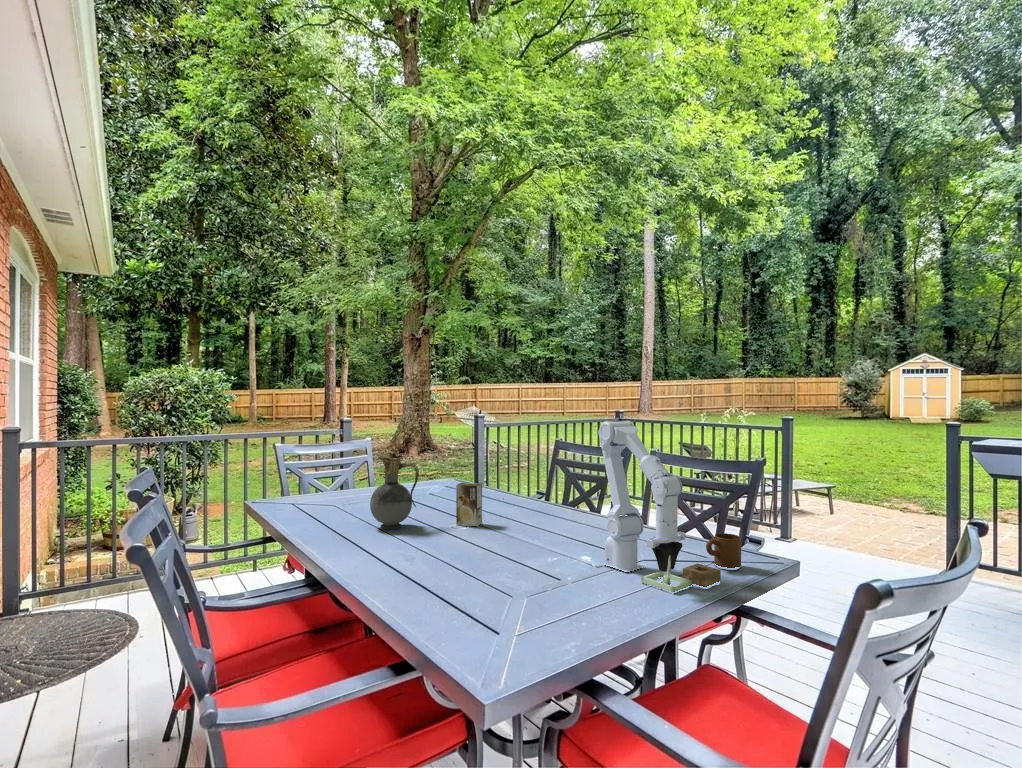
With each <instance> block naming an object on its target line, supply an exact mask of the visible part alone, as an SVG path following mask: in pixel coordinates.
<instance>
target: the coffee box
mask: <svg viewBox="0 0 1022 768" xmlns="http://www.w3.org/2000/svg"><path fill="white" fill-rule="evenodd" d="M455 489H456V490H455V491H456V492H455V493H456V495H455V496H456V497H455V501H456V504H455V505H456V508H455V509H456V510H455V512H456V513H455V514H456V515H455V516H456V520H455V521H456V526H457V525H458V526H459V527H460V526H461V527H471V526H478V527H480V526H481V525H482V524H483V483H479V482H459V483H457V484H456V485H455ZM481 523H482V524H481ZM480 524H481V525H480ZM479 525H480V526H479Z"/></svg>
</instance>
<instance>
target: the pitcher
mask: <svg viewBox="0 0 1022 768" xmlns="http://www.w3.org/2000/svg"><path fill="white" fill-rule="evenodd" d="M398 450H399V449H397V448H396V449H395V448H392V450H389V451H388V455H385V456H382V455H379V456H378V457H376V458H375V460H376V461H378V460H381V462H382V463H383V467H384V471H383V472H384V483H383V484H381V485H379V486H378V487H376V488H375V490H374V491H373V493H372V494H371V496H370V500H369V507H370V512H371V514H372V517H373V518H374V519H375V520H376V521H378V522H379V523H381V524H380V529H381V528H382V530H385V529H393V530H396V529H395V528H398V529H400V528H399V527H401V528H402V524H401V522H403V521H405V520H406V519H407V518H408V517H409V515H410V513H411V512H412V506H413V507H415V508H417V506H416V503H415V502H414V500H413V492H414V489H415V487H416V485H417V483H418V480H419V477H420V469H419V467H418V466H417V464H416V463H415V462H410V461H409V462H404V463H401V460H402V459H403V457H404V455H405V454H404V453H400V451H398ZM399 453H400V454H399ZM406 467H412V468H413V469H414V471H415V478H414V479H415V480H414V483H413V485H412V488H411V489H410V490H409V489H408V488H407V487H406V486H404V485H402V484H400V483H399V472H400V470H401V469H404V468H406Z"/></svg>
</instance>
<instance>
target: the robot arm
mask: <svg viewBox="0 0 1022 768" xmlns="http://www.w3.org/2000/svg"><path fill="white" fill-rule="evenodd" d="M598 437H599V443H600V448H601V451H602V456H603V462H604V466H605V472H606V477H607V482H608V487H609V492H610V497H611V503H612V508H611V509H610V510H609V511H608V512H607V514H606V516H607V532H608V534H609V535H608V537H607V538H606V539H605V543H604V563H603V565H602V566H604V565H606V566H605V567H607V566H610V567H613V568H616V569H619V570H622V571H624V572H623V573H625V572H629V573H631V572H630V571H632V572H635V571H634V570H636V571H638V570H637V569H639V570H641V569H640V568H642V567H644V566H643V565H640V564H639V563H638V556H639V555H638V551H639V549H638V548H639V547H638V546H639V545H638V542H639V541H638V540H639V539H640V538H641V537H640V536H641V535H642V534H643V532H644V524H645V523H644V521H643V519H642V517H641V516H640V511H639V509H638V508H637V507H636V506H634V505H633V504H631V497H630V494H629V488H628V484H627V483H628V482H627V478H626V473H625V469H624V465H623V463H624V462H623V460H622V454H621V453H622V451H623V450H624V449H626V448H627V449H628V450H629V451H630V452H631V454H632V455H634V456H635V458H637V460H638V461H639V469H640V470H641V471H642V473H643V474H644V475H645V477H646V479H647V480H648V481H649V482H650V484H651V485H650V488H651V492H652V495H653V497H654V503H655V534H654V535H652V537H650V538H647V539H646V547H647V548H651V550H652V551H653V555H654V556H655V559H656V562H657V567H658V571H662V572H667V568H668V558H669V554H670V555H671V570H674V569H675V568H676V567H675V566H676V563H677V560H678V556H679V553H680V552H681V550H682V548H683V543H682V542H681V541H685V540H686V532H683V531H680V530H679V531H678V519H679V518H678V517H679V516H678V515H679V514H678V512H679V511H678V508H679V506H678V502H679V501H678V496H680V495H681V494H682V491H683V483H682V481H681V479H680V477H679V476H678V475H675V474H673V473H672V472H669V470H668V469H667V468H666V467H665V465H664V464H663V463H662V462H661V459H660V458H659V457H658V456H657V455H651V454H650V452H649V451H648V449H647V448H646V447H645V445H644V443H643V441H642V439H640V437H639V435H638V428H637V427H636V426H635V424H634V423H633V422H632V421H631V420H625V421H623V420H622V421H608V420H607V421H603V422H602V423H601V425H600V427H599V429H598ZM610 567H609V568H610ZM613 568H612V569H613ZM644 568H645V567H644ZM616 569H615V570H616ZM642 569H643V568H642ZM619 570H618V571H619ZM622 571H621V572H622Z"/></svg>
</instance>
